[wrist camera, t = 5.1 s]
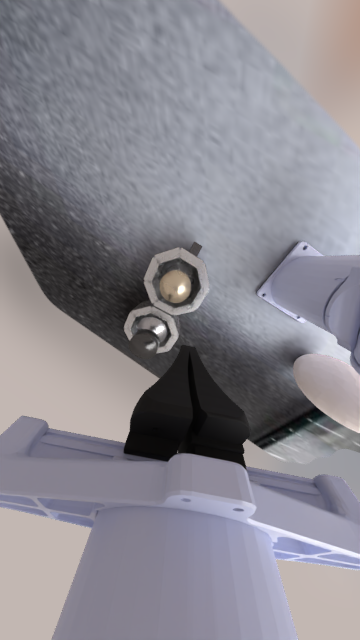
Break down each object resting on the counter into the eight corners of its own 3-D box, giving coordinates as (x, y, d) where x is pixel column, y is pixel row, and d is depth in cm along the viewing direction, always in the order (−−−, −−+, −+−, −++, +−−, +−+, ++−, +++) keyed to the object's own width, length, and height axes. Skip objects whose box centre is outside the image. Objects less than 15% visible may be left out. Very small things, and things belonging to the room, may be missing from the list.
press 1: (220, 261, 18) (227, 262, 15) (187, 312, 22) (187, 323, 18) (171, 230, 17) (166, 223, 14) (145, 289, 21) (136, 296, 17)
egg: (279, 375, 27) (338, 453, 16) (282, 346, 24) (357, 418, 13) (321, 371, 25) (415, 452, 15) (329, 339, 22) (455, 412, 12)
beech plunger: (200, 274, 19) (203, 279, 14) (184, 301, 20) (182, 313, 16) (171, 257, 18) (166, 257, 14) (157, 287, 20) (148, 294, 15)
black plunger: (134, 333, 21) (119, 352, 17) (144, 310, 19) (131, 324, 15) (159, 345, 22) (152, 367, 17) (172, 324, 20) (167, 342, 16)
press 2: (127, 332, 25) (116, 344, 21) (145, 290, 21) (136, 297, 17) (164, 349, 26) (159, 364, 22) (187, 313, 22) (186, 324, 19)
